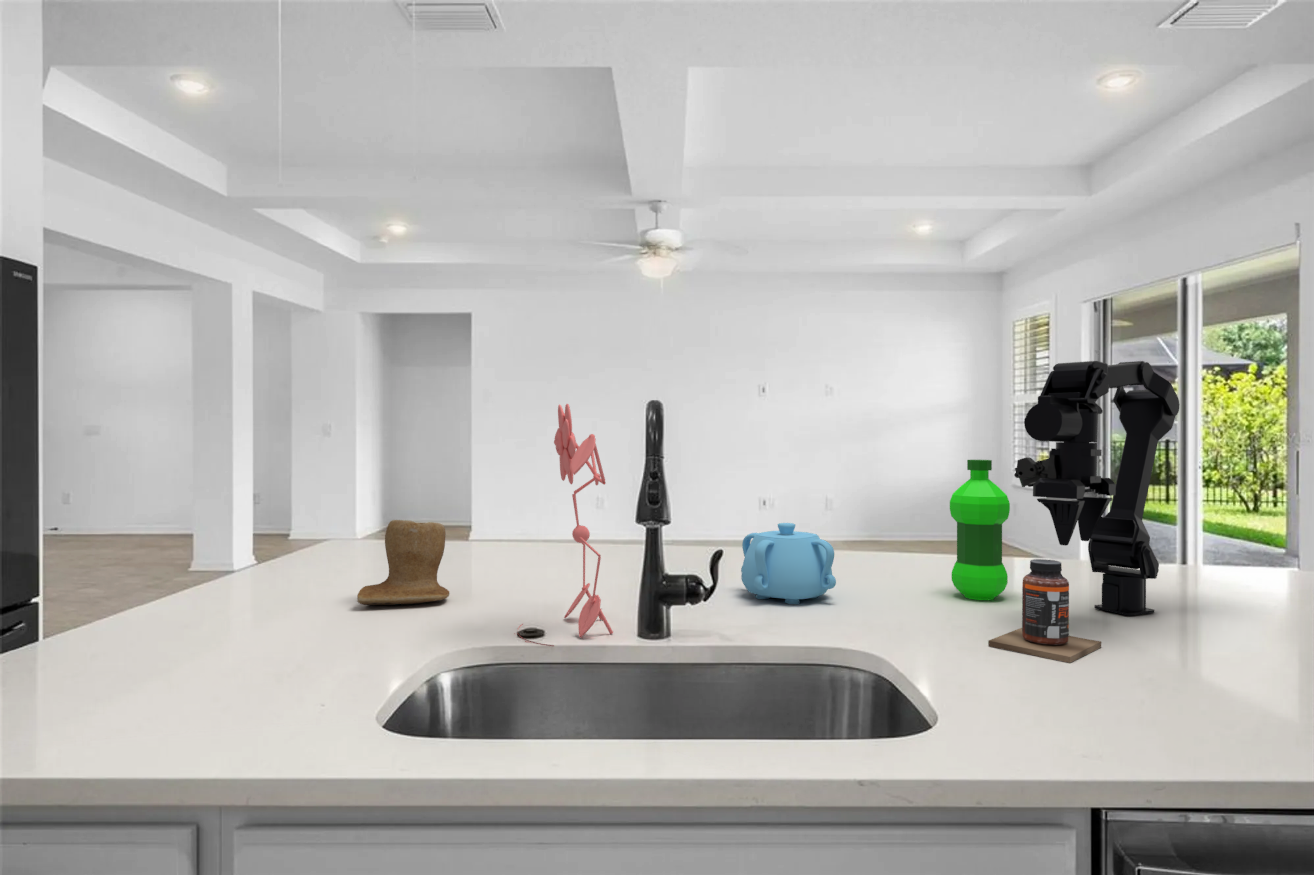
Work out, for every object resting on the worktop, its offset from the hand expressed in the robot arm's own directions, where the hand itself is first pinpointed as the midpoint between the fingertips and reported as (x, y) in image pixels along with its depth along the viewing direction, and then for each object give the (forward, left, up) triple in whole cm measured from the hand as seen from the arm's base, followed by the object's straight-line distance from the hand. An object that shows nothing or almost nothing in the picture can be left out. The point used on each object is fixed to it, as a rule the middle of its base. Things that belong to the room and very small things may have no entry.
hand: (1074, 543), depth 124 cm
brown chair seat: (+95, -59, -13) cm, 112 cm away
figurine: (+74, -29, -13) cm, 80 cm away
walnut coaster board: (+14, +7, -13) cm, 20 cm away
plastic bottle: (-2, -22, -13) cm, 26 cm away
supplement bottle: (+14, +7, -12) cm, 20 cm away
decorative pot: (+30, -36, -13) cm, 49 cm away
